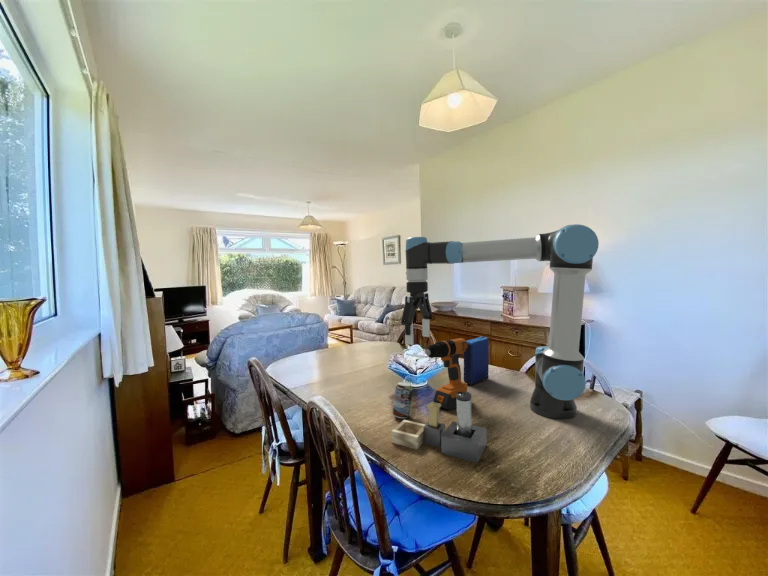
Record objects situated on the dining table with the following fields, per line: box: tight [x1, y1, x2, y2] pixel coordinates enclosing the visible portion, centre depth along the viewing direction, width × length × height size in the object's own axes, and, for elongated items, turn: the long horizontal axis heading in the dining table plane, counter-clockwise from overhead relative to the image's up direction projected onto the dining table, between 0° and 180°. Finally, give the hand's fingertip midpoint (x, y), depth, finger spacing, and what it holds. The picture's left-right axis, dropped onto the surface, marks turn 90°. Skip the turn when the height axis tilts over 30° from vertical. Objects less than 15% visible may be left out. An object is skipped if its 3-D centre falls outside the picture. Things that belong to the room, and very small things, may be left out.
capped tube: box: [456, 391, 472, 438], centre depth 97 cm, size 4×4×16 cm
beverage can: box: [392, 381, 413, 419], centre depth 121 cm, size 6×7×12 cm
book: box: [463, 335, 490, 386], centre depth 155 cm, size 14×5×20 cm, turn 130°
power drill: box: [424, 337, 468, 411], centre depth 129 cm, size 22×7×25 cm, turn 129°
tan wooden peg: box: [426, 401, 442, 429], centre depth 101 cm, size 3×3×8 cm
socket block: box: [423, 420, 487, 464], centre depth 99 cm, size 16×10×6 cm, turn 60°
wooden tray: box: [390, 419, 426, 450], centre depth 103 cm, size 8×8×4 cm
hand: (418, 340), depth 123 cm, fingers open, 13 cm apart
